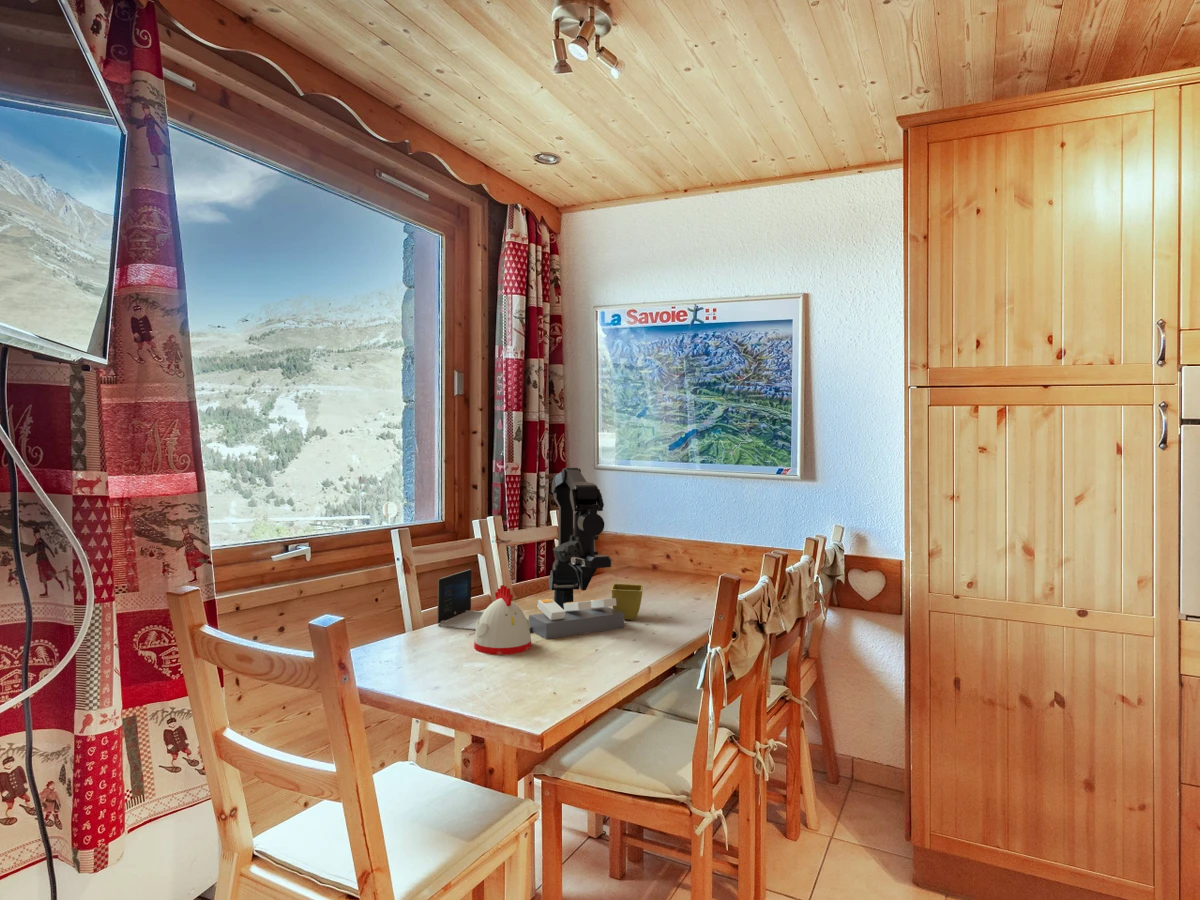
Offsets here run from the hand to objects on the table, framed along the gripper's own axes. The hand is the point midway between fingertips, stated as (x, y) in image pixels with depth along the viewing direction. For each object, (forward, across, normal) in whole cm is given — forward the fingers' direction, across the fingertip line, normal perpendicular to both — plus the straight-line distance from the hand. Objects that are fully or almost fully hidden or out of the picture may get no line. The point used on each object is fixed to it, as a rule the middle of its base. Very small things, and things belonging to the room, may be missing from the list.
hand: (583, 590), depth 191 cm
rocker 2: (+5, -3, 0) cm, 6 cm away
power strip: (+11, -3, -3) cm, 12 cm away
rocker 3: (+5, -3, +8) cm, 10 cm away
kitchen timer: (+12, +3, -24) cm, 27 cm away
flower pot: (+11, -7, +19) cm, 23 cm away
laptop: (+12, -24, -21) cm, 34 cm away
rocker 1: (+5, -3, -8) cm, 10 cm away
